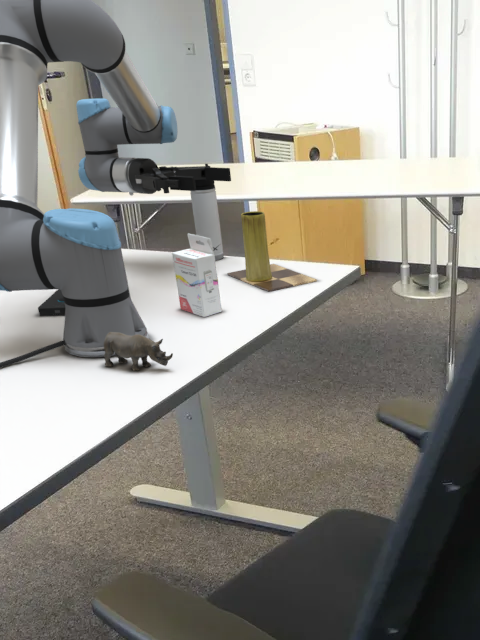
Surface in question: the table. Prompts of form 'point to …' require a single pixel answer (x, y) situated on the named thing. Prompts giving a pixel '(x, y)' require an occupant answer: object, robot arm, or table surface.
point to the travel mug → (207, 215)
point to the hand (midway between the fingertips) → (212, 179)
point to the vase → (256, 246)
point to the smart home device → (53, 305)
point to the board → (276, 278)
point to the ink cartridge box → (197, 277)
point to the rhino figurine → (133, 349)
